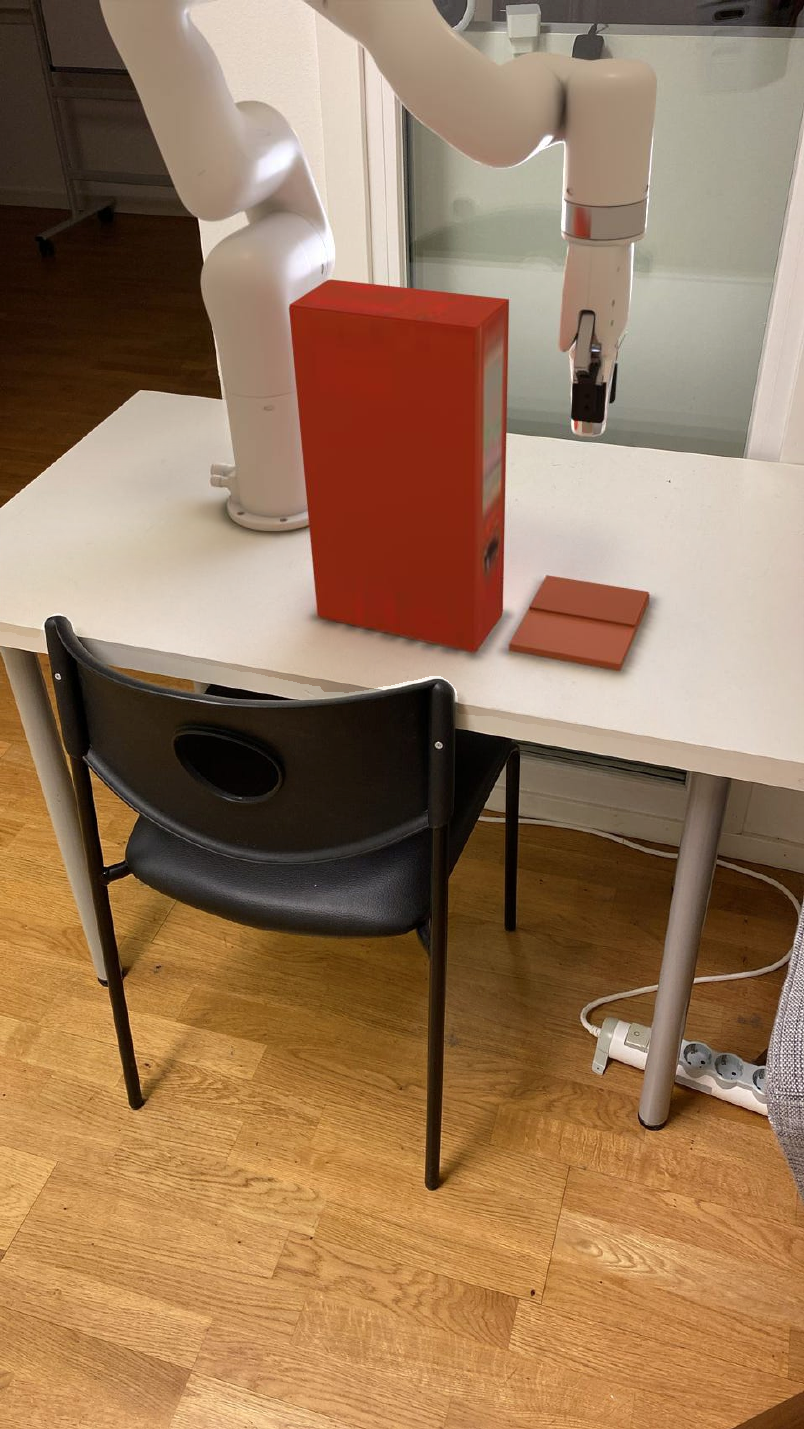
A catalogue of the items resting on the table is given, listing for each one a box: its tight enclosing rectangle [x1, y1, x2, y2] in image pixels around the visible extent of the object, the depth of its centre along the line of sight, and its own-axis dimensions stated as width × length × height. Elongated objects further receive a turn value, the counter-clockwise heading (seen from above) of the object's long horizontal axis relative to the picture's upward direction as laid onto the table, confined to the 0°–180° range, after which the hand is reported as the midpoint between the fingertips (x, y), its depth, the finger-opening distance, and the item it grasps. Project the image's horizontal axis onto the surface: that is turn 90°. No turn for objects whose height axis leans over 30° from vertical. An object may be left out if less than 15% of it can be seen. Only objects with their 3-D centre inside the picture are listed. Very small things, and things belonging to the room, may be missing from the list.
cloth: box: [508, 574, 651, 672], centre depth 118 cm, size 11×13×1 cm
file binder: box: [289, 278, 510, 653], centre depth 111 cm, size 8×17×32 cm, turn 65°
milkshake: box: [568, 331, 628, 438], centre depth 115 cm, size 5×5×10 cm
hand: (593, 409), depth 116 cm, fingers closed on milkshake, 4 cm apart
